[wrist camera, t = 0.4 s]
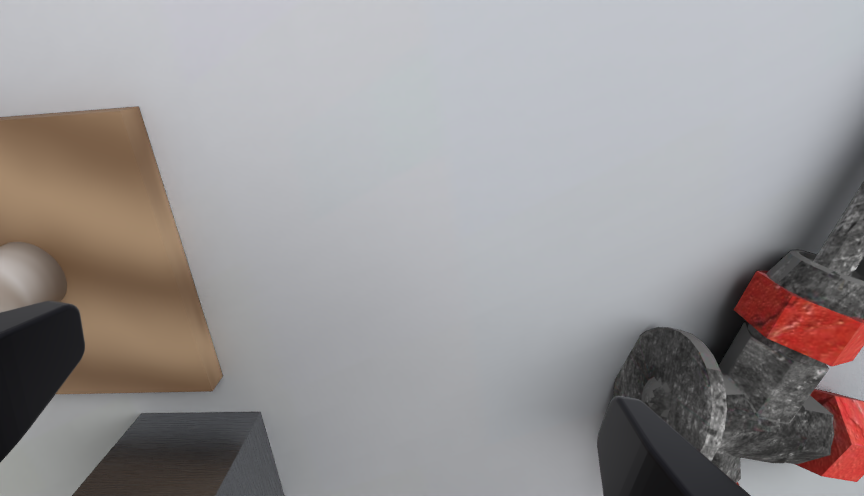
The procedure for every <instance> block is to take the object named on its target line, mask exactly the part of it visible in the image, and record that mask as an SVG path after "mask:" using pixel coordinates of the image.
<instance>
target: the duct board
mask: <svg viewBox="0 0 864 496" xmlns="http://www.w3.org/2000/svg"><path fill="white" fill-rule="evenodd" d="M44 301H58V302H64V303H69V304H73V305H75V306H76V307H77V308H78V309H79V311H80V315H81V322H82V328H83V334H84V340H85V351H84V354H83V357H82V359H81V360H80V362H79V363H78V365H77V366H76V367H75V369H74V370H73V371H72V373H71V374H70V375H69V377H68V378H67V379H66V381H65V382H64V383H63V385H62V386H61V387H60V389H59V390H58V391H57V393H56V394H92V393H145V392H199V391H213V390H214V388H215V387H216V385H217V384H218V382H219V381H220V380H221V378H222V377H223V375H222V371H221V368H220V365H219V362H218V359H217V355H216V352H215V349H214V346H213V343H212V339H211V336H210V333H209V330H208V327H207V323H206V320H205V317H204V314H203V311H202V307H201V304H200V301H199V298H198V295H197V291H196V288H195V285H194V282H193V279H192V275H191V272H190V269H189V266H188V263H187V259H186V256H185V253H184V250H183V247H182V243H181V240H180V237H179V234H178V231H177V227H176V224H175V221H174V218H173V215H172V211H171V208H170V205H169V202H168V199H167V195H166V192H165V189H164V186H163V183H162V179H161V176H160V173H159V170H158V167H157V163H156V160H155V157H154V154H153V151H152V147H151V144H150V141H149V138H148V135H147V132H146V128H145V125H144V122H143V119H142V116H141V112H140V109H139V107H126V108H114V109H101V110H88V111H75V112H62V113H49V114H37V115H24V116H11V117H0V313H1V312H5V311H8V310H12V309H16V308H20V307H24V306H28V305H32V304H36V303H40V302H44Z"/></svg>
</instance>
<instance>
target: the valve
mask: <svg viewBox="0 0 864 496" xmlns="http://www.w3.org/2000/svg"><path fill="white" fill-rule="evenodd" d="M858 264H859V265H858ZM857 266H858V267H857ZM856 267H857V269H856ZM855 269H856V270H855ZM734 311H735V312H737V313H738V314H739V315H740V316H741V317H742V318H744V319H745V320H746V321H747V322H744V323H743V325H742V327H741V329H740V330H739V332H738V334H737V335H736V337H735V339H734V341H733V342H732V344H731V346H730V347H729V349H728V351H727V352H726V354H725V356H724V358H723V359H722V361H721V363H720V364H719V366H718V364H717V362H716V360H715V358H714V356H713V354H712V353H711V352H710V350H709V349H708V348H707V346H706V345H705V344H704V343H703V342H702V341H701V340H699V339H698V338H697V337H695V336H694V335H693V334H690V333H687V332H684V331H682V330H677V329H673V328H668V327H657V328H654V329H651V330H648V331H646V332H645V333H643V334H642V335H640V337H639V339H638V340H637V342H636V344H635V346H634V347H633V349H632V351H631V353H630V354H629V356H628V358H627V360H626V361H625V363H624V365H623V367H622V368H621V370H620V372H619V374H618V375H617V377H616V381H615V385H614V396H613V398H614V397H616V396H623V397H629V398H635V399H639V400H641V401H642V402H643V403H645V404H646V405H647V406H648V407H649V408H650V409H651V410H653V411H654V412H655V413H656V414H657V415H658V416H660V417H661V418H662V419H663V420H664V421H665V422H666V423H668V424H669V425H670V426H671V427H672V428H673V429H674V430H676V431H677V432H678V433H679V434H680V435H681V436H683V437H684V438H685V439H686V440H687V441H688V442H689V443H691V444H692V445H693V446H694V447H695V448H696V449H698V450H699V451H700V452H701V453H702V454H703V455H704V456H706V457H707V458H708V459H709V460H710V461H711V462H712V463H714V464H715V465H716V466H717V467H718V468H719V469H721V470H722V471H723V472H724V473H725V474H726V475H727V476H729V477H730V478H731V479H732V480H733V481H734V482H735V483H737V484H738V481H739V480H740V478H741V471H740V458H748V459H753V460H759V461H764V462H770V463H785V462H786V463H792V464H796V465H798V466H800V467H802V468H805V469H807V470H809V471H811V472H814V473H816V474H818V475H820V476H824V477H830V478H836V479H842V480H848V481H854V482H857V481H858V480H859V479H860V478H861V477H862V476H863V475H864V401H861V400H857V399H854V398H850V397H846V396H843V395H839V394H835V393H831V392H827V391H822V390H817V389H815V388H816V386H817V385H818V384H819V382H820V381H821V379H822V378H823V377H824V375H825V374H826V373H827V371H828V370H829V368H828V366H827V365H829V366H835V365H839V364H842V363H846V362H850V361H853V360H854V358H855V357H856V355H857V354H858V353H859V351H860V350H861V348H862V347H863V346H864V182H863V183H862V185H861V187H860V188H859V190H858V191H857V193H856V195H855V196H854V198H853V199H852V201H851V202H850V204H849V206H848V207H847V209H846V210H845V212H844V213H843V215H842V217H841V218H840V220H839V221H838V223H837V224H836V226H835V228H834V229H833V231H832V232H831V234H830V236H829V237H828V239H827V240H826V242H825V243H824V245H823V247H822V248H821V250H820V251H819V253H818V254H817V255H816V254H813V253H810V252H806V251H802V250H793V251H790V252H789V253H788V254H787V255H786V256H784V257H783V258H782V259H781V260H780V261H779V262H778V263H777V264H776V265H775V266H774V267H772V268H771V269H770V270H769V271H756V272H755V274H754V276H753V277H752V279H751V281H750V283H749V284H748V286H747V288H746V289H745V291H744V293H743V295H742V296H741V298H740V300H739V301H738V303H737V305H736V307H735V308H734ZM826 364H827V365H826ZM738 485H739V484H738Z"/></svg>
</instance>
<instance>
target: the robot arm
mask: <svg viewBox="0 0 864 496" xmlns="http://www.w3.org/2000/svg"><path fill="white" fill-rule="evenodd" d="M84 351H85V340H84V334H83V328H82V322H81V315H80V311H79V309H78V308H77V307H76V306H75V305H73V304H69V303H64V302H58V301H44V302H40V303H36V304H32V305H28V306H24V307H20V308H16V309H12V310H8V311H5V312H1V313H0V462H1V461H2V460H3V459H4V458H5V457H6V456H7V455H8V453H9V452H10V451H11V450H12V449H13V448H14V446H15V445H16V444H17V443H18V442H19V441H20V440H21V438H22V437H23V436H24V435H25V433H26V432H27V431H28V429H29V428H30V427H31V426H32V424H33V423H34V422H35V420H36V419H37V418H38V416H39V415H40V414H41V412H42V411H43V410H44V408H45V407H46V406H47V404H48V403H49V402H50V401H51V399H52V398H53V397H54V395H55V394H56V393H57V391H58V390H59V389H60V387H61V386H62V385H63V383H64V382H65V381H66V379H67V378H68V377H69V375H70V374H71V373H72V371H73V370H74V369H75V367H76V366H77V365H78V363H79V362H80V360H81V359H82V357H83V354H84ZM597 448H598V456H599V464H600V472H601V479H602V487H603V495H604V496H750V495H749V494H748V493H747V492H746V491H745V490H744V489H742V488H741V487H740V486H739V485H738V484H737V483H735V482H734V481H733V480H732V479H731V478H730V477H729V476H727V475H726V474H725V473H724V472H723V471H722V470H721V469H719V468H718V467H717V466H716V465H715V464H714V463H712V462H711V461H710V460H709V459H708V458H707V457H706V456H704V455H703V454H702V453H701V452H700V451H699V450H698V449H696V448H695V447H694V446H693V445H692V444H691V443H689V442H688V441H687V440H686V439H685V438H684V437H683V436H681V435H680V434H679V433H678V432H677V431H676V430H674V429H673V428H672V427H671V426H670V425H669V424H668V423H666V422H665V421H664V420H663V419H662V418H661V417H660V416H658V415H657V414H656V413H655V412H654V411H653V410H651V409H650V408H649V407H648V406H647V405H646V404H645V403H643V402H642V401H641V400H639V399H635V398H629V397H623V396H616V397H614V398H613V399H612V400H611V402H610V404H609V406H608V409H607V412H606V414H605V417H604V420H603V422H602V425H601V428H600V430H599V433H598V440H597Z"/></svg>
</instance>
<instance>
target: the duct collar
mask: <svg viewBox="0 0 864 496" xmlns="http://www.w3.org/2000/svg"><path fill="white" fill-rule="evenodd" d="M72 496H284V493H283V490H282V486H281V483H280V479H279V476H278V472H277V469H276V465H275V462H274V458H273V454H272V451H271V447H270V444H269V440H268V437H267V433H266V430H265V426H264V423H263V419H262V416H261V412H227V413H158V414H141V415H140V416H139V417H138V418H137V419H136V421H135V422H134V423H133V424H132V425H131V426H130V428H129V429H128V430H127V431H126V432H125V434H124V435H123V436H122V437H121V438H120V439H119V441H118V442H117V443H116V444H115V445H114V447H113V448H112V449H111V450H110V451H109V452H108V454H107V455H106V456H105V457H104V458H103V460H102V461H101V462H100V463H99V464H98V465H97V467H96V468H95V469H94V470H93V471H92V473H91V474H90V475H89V476H88V477H87V478H86V480H85V481H84V482H83V483H82V484H81V486H80V487H79V488H78V489H77V490H76V491H75V493H74V494H73V495H72Z"/></svg>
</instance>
